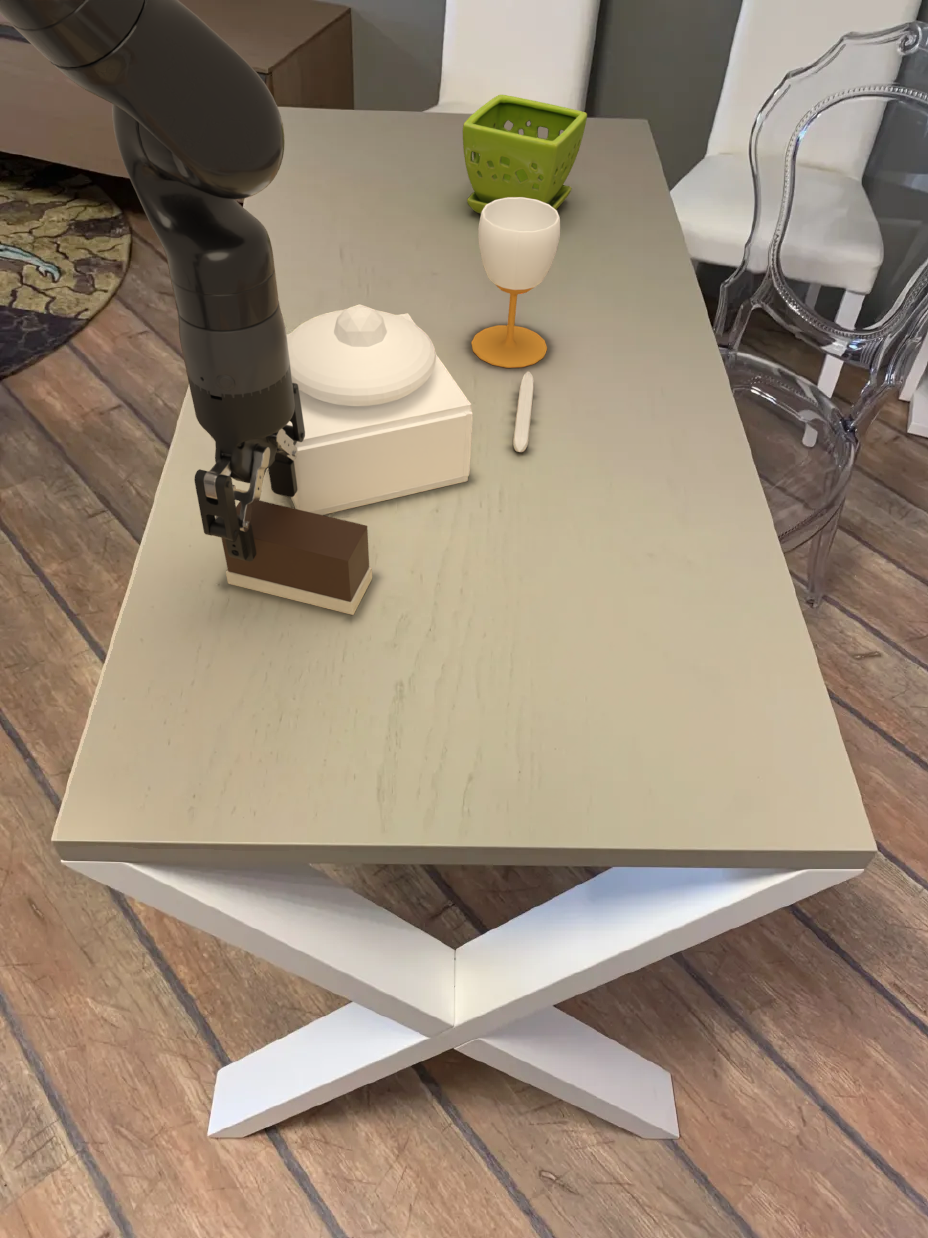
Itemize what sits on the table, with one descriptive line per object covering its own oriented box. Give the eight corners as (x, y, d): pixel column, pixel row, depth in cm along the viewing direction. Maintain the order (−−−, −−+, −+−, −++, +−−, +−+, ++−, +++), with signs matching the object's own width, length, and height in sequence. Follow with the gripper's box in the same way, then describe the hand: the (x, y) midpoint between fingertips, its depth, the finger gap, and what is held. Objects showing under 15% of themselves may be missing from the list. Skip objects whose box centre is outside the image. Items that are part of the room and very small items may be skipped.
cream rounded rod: (534, 381, 108) (535, 369, 107) (526, 457, 98) (528, 444, 97) (520, 380, 108) (522, 367, 107) (511, 455, 99) (512, 442, 97)
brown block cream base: (227, 583, 84) (216, 530, 80) (250, 548, 88) (241, 495, 83) (353, 615, 83) (349, 562, 78) (372, 578, 86) (370, 525, 81)
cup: (547, 330, 115) (563, 198, 103) (546, 371, 109) (562, 237, 97) (474, 323, 116) (481, 192, 104) (468, 364, 110) (475, 230, 98)
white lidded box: (300, 520, 90) (284, 378, 79) (254, 414, 101) (234, 275, 90) (469, 481, 95) (477, 341, 84) (408, 384, 106) (407, 249, 95)
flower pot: (546, 240, 131) (557, 144, 122) (455, 217, 134) (458, 123, 125) (579, 200, 140) (591, 109, 131) (492, 181, 143) (498, 90, 134)
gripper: (233, 303, 74) (259, 465, 86) (142, 405, 65) (186, 570, 77) (322, 321, 73) (336, 482, 85) (242, 427, 64) (270, 591, 76)
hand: (264, 524), depth 81 cm, fingers open, 8 cm apart
